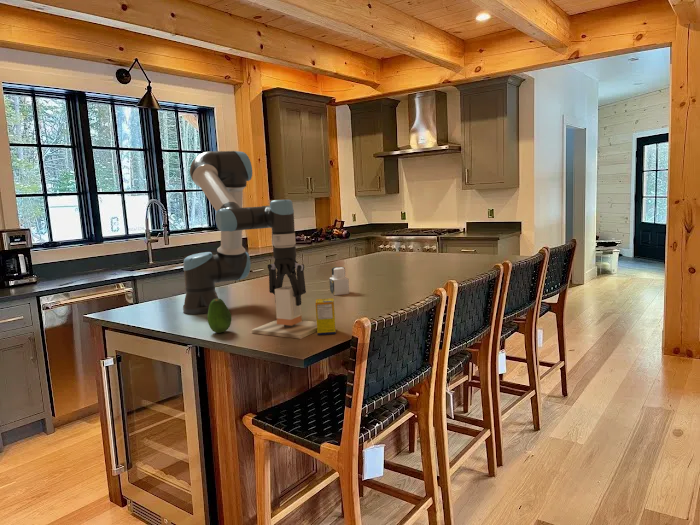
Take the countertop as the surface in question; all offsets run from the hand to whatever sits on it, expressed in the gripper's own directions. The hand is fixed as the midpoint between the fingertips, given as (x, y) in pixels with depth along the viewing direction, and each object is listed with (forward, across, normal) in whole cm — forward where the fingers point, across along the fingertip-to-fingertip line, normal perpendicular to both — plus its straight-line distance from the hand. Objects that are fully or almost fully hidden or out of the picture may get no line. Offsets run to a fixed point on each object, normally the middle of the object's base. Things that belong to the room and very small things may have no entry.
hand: (288, 314), depth 178 cm
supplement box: (+6, +14, +1) cm, 15 cm away
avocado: (+6, -21, -11) cm, 24 cm away
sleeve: (+1, 0, 0) cm, 1 cm away
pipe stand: (+5, 0, 0) cm, 5 cm away
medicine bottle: (+6, -15, +60) cm, 62 cm away
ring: (+3, 0, 0) cm, 3 cm away
